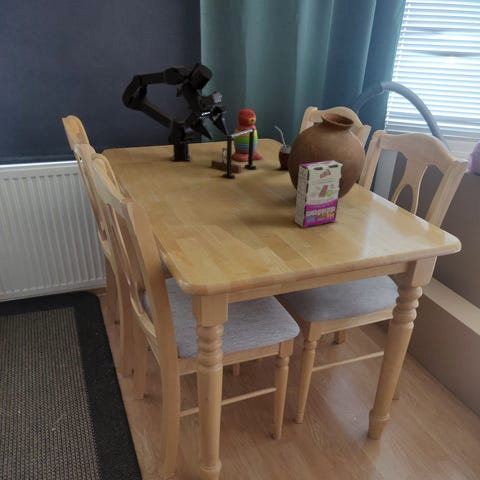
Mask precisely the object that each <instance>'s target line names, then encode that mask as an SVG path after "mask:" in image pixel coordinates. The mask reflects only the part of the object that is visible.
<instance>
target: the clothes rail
mask: <svg viewBox="0 0 480 480" xmlns="http://www.w3.org/2000/svg"><path fill="white" fill-rule="evenodd" d="M247 133H249V157H248V160H247V161H248V163H247V164H245V165H244V169H249V170H253V171H254V170H256V169H257V166H256V165H253V164H254V160H253V144H254V128H250V129H248V130H245V131H242V132H239V133H235V132H234V133H233V134H232V133H231V134H227V135H226V148H227V151H226V162H227V171H226V172H224V173H223V174H222V177H223V178H226V179H229V180H233V179H235V178H236V175H235V174H232V172H231V163H232V155H233V154H232V152H233V151H232V149H233V146H232V145H233V139H234V138H235V137H238V136H241V135H244V134H247Z"/></svg>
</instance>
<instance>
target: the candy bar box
mask: <svg viewBox="0 0 480 480" xmlns="http://www.w3.org/2000/svg"><path fill="white" fill-rule="evenodd" d="M342 166H343V164H340V163H338V162H335V161H334V160H331V161H323V162H316V163H309V164H302V165H299V176H298V188H297V190H296V201H295V202H296V203H295V214H294V223H295V224H296V225H298V226H300V227H301V228H303V229H304V228H313V227H317V226H322V225H327V224H330V223H331V224H332V223H335V222H336V218H337V211H338V204H339V203H338V202H339V199H338V196H339V189H340V181H341V174H342Z"/></svg>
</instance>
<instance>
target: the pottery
mask: <svg viewBox="0 0 480 480" xmlns="http://www.w3.org/2000/svg"><path fill="white" fill-rule="evenodd" d="M320 117H321V120H322V122H319V123H316V124H313V125H311V126H309V127H307V128H305V129H303V130H302V131H301V132H300V133H299V134H298V135H297V136H296V137H295V139H294V140H293V142H292V145H291V146H292V147H291V150H290V154H289V158H288V170H287V171H288V174H289V178H290V181H291V185H292V186H293V189H295V190H296V191H297V188H298V176H299V165H302V164H309V163H316V162H323V161H331V160H334V161H335V162H338V163H340V164H343V166H342V174H341V181H340V189H339V196H338V200H339V199H342V198H344V197H345V196H346V195H347V194H348V193H349V192H350V191H351V189H352V188H353V187H354V185H355V184H356V182H357V181H358V180H359V178H360V176H361V174H362V172H363V170H364V166H365V163H366V151H365V148H364V145H363V144H362V141H361V140H360V139H359V137H357V136H356V135H355V134H354V133H353V132H352V130H351V128H353V126H354V125H355V121H354V120H352V119H351V118H349V117H347V116H345V115H341V114H340V113H334V112H324V113H322V114H321V115H320Z"/></svg>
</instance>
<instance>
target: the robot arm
mask: <svg viewBox="0 0 480 480" xmlns="http://www.w3.org/2000/svg"><path fill="white" fill-rule="evenodd" d="M213 76H214V74H213V72H212V70H211V69H210V68H209V67H207V66H206V65H205V64H203V63H202V62H201V61H198V62H196V63H195V65H194V66H193V68H192V69H191V70H190V69H188V68H187V66H186V65H178V66H171V67H169V68H166V69H164V70H163V71H158V72H152V73H137V74H135V75H134V76H133V77H132V79H131V81H130V82H129V84H128V85H127V86H126V87H125V89H124V91H123V93H122V96H121V101H122V103H123V105H124V107H125V108H127V109H130V110H133V111H136V112H137V111H138V112H142V113H143V114H145V115H146V116H148V117H149V118H150V119H152V120H154V121H156V122H157V123H159V124H160V125H162V126H163V127H164V128H166V129H168V131H169V135H168V137H167V142H168V145H173V156H172V161H173V162H190V161H191V155H190V149H189V148H190V147H189V145H190V144H189V143H190V142H191V143H193V141H194V137H195V136H196V133H198V134H199V135H202V136H204V137H205V138H206V139H208V140H210V141H212V140H213V138H214V137H213V135H212V133H211V131H210V129H209V128H208V126H207V124H206V120H207V119H209V120H210V121H211V122H212V125H213V126H214V127H216V128H217V129H218V130H219V131H220V132H221V133H222V134H224V136H227V135H229V132H228V127H227V125H226V121H225V116H226V114H227V111H228V109H227V108H226V106H225V105H223V104H221V103H222V100H223V95H222V94H221V92H220V91H219V90H215V91H214V92H211V94H209V95H202V93H201V92H200V91H202V90H204V89H205V88H206V87H207V85H208V84H209V82H210V81H211V80H212V78H213ZM159 84H166V85H168V86H180V85H181V86H180V87H177V88H176V94H175V97H176V98H179V97H182V98H183V99H184V101H185V102H186V104H187V105H188V106H187V110H188V111H191V112H190V113H189V114H188V115H187V116H184V115H180V116H177V117H175V116H174V115H172V114H170V113H169V112H167V111H165V110H164V109H162V108H161V107H159V106H158V105H156V104H155V103H153V102H151V101H149V98H148V96H147V94H148V85H159ZM217 104H220V105H217ZM215 105H216V106H215Z"/></svg>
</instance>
